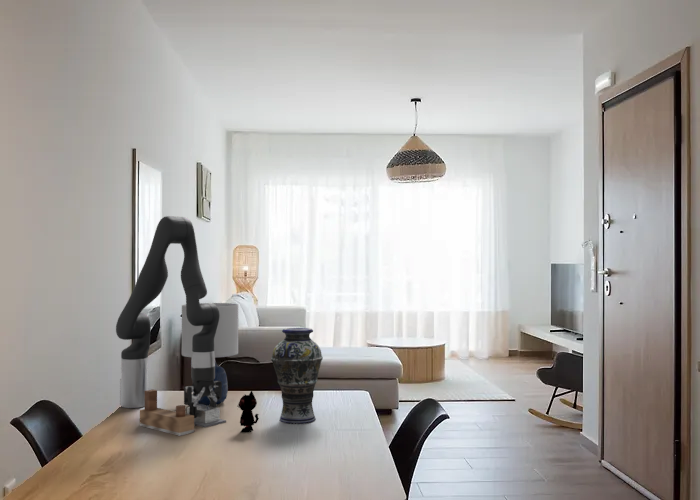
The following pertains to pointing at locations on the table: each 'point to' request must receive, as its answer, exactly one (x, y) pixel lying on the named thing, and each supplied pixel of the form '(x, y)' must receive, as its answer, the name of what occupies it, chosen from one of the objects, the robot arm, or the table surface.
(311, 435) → the table surface
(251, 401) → the cat figurine
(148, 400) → the plane body
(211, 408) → the lever cap
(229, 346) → the lamp
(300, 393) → the vase
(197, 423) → the felt mat
